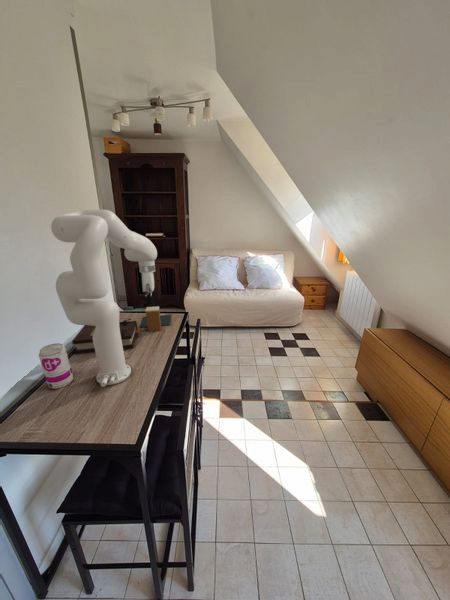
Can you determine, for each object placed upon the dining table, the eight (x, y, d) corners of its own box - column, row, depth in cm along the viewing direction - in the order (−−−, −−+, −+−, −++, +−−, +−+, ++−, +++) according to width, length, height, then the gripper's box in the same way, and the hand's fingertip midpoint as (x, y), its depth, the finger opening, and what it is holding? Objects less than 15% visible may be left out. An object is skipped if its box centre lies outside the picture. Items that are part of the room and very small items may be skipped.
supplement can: (68, 388, 92) (58, 353, 86) (43, 391, 90) (32, 355, 85) (77, 374, 99) (68, 341, 94) (54, 377, 98) (44, 343, 93)
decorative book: (80, 322, 127) (141, 317, 132) (83, 336, 130) (142, 330, 135) (64, 341, 109) (135, 334, 114) (68, 356, 112) (137, 349, 117)
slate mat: (169, 325, 141) (169, 324, 140) (140, 327, 138) (140, 326, 138) (170, 315, 154) (170, 314, 153) (143, 317, 151) (143, 316, 151)
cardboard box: (160, 330, 135) (158, 309, 131) (148, 331, 134) (145, 310, 130) (161, 326, 140) (159, 306, 135) (149, 327, 139) (146, 307, 134)
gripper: (142, 265, 132) (145, 296, 138) (136, 272, 116) (141, 306, 122) (156, 265, 134) (159, 295, 139) (153, 271, 117) (156, 305, 123)
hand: (150, 300), depth 130 cm, fingers open, 9 cm apart
